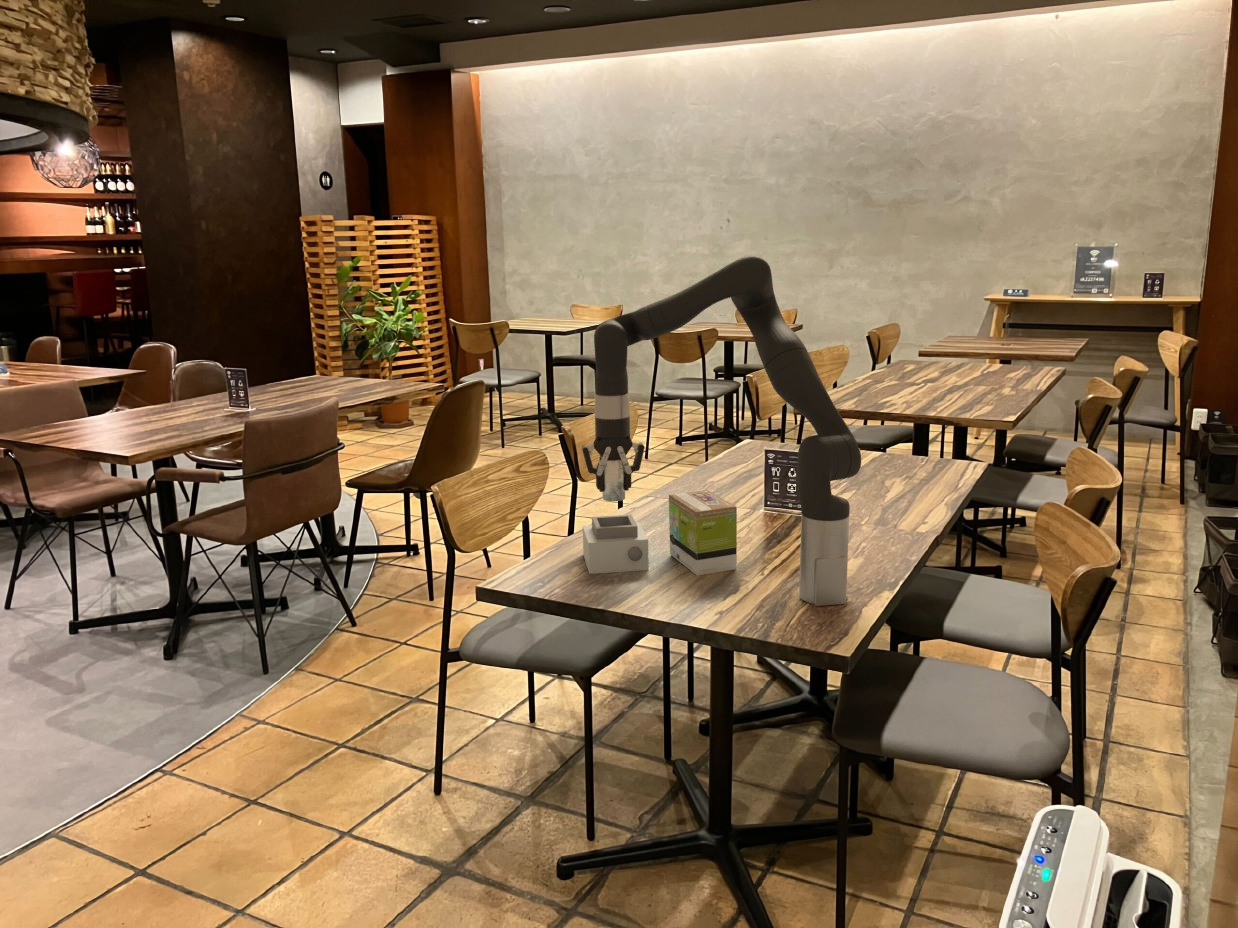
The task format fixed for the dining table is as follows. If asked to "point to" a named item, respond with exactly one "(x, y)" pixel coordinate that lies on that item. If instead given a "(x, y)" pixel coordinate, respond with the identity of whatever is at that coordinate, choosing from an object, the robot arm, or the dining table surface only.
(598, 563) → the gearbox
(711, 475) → the dining table surface
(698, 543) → the tea box
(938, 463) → the dining table surface
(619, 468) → the spout can
